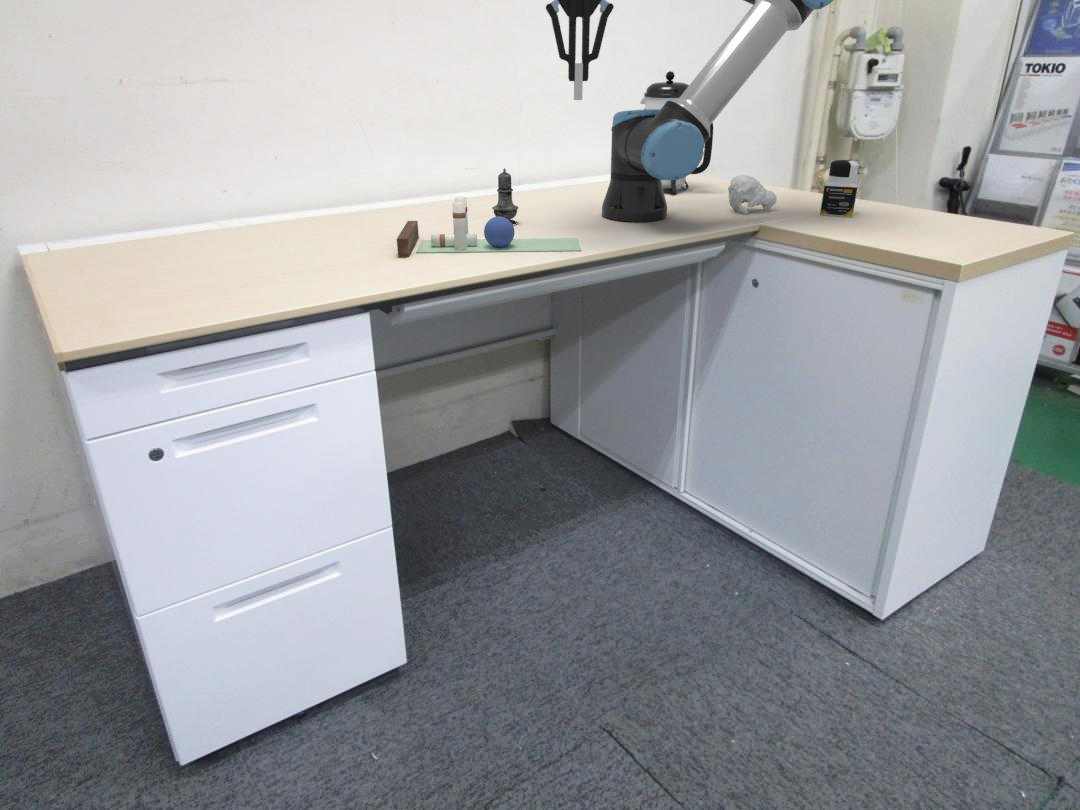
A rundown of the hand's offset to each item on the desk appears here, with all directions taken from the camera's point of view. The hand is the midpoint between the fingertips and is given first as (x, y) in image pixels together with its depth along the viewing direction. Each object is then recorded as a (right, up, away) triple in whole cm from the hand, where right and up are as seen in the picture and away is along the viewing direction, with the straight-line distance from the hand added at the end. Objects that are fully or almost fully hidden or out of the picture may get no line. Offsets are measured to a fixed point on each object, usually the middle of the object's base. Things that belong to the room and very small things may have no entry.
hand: (577, 99), depth 147 cm
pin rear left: (-23, -30, -1) cm, 38 cm away
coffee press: (+28, -1, +58) cm, 64 cm away
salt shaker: (-15, -20, +21) cm, 32 cm away
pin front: (-20, -27, +1) cm, 34 cm away
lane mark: (-16, -28, +2) cm, 32 cm away
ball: (-16, -26, 0) cm, 30 cm away
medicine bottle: (+63, -15, +29) cm, 71 cm away
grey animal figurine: (+43, -14, +32) cm, 56 cm away
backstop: (-34, -29, +2) cm, 44 cm away
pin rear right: (-23, -27, +4) cm, 36 cm away
